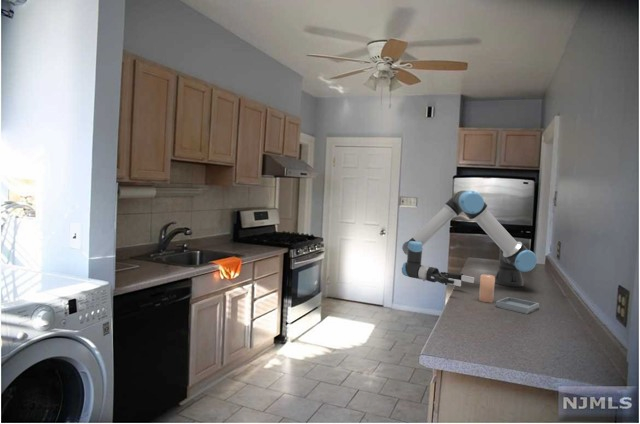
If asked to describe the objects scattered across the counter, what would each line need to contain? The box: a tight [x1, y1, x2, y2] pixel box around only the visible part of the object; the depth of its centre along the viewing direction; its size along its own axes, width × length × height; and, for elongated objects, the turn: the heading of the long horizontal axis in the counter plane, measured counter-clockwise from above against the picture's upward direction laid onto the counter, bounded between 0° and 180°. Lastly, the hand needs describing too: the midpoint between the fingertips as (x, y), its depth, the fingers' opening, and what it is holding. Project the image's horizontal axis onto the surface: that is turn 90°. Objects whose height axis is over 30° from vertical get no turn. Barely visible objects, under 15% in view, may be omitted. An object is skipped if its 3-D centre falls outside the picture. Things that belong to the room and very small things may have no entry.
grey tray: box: [495, 296, 540, 315], centre depth 200 cm, size 14×14×2 cm
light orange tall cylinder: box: [478, 274, 496, 303], centre depth 210 cm, size 6×6×12 cm
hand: (467, 281), depth 217 cm, fingers open, 13 cm apart
